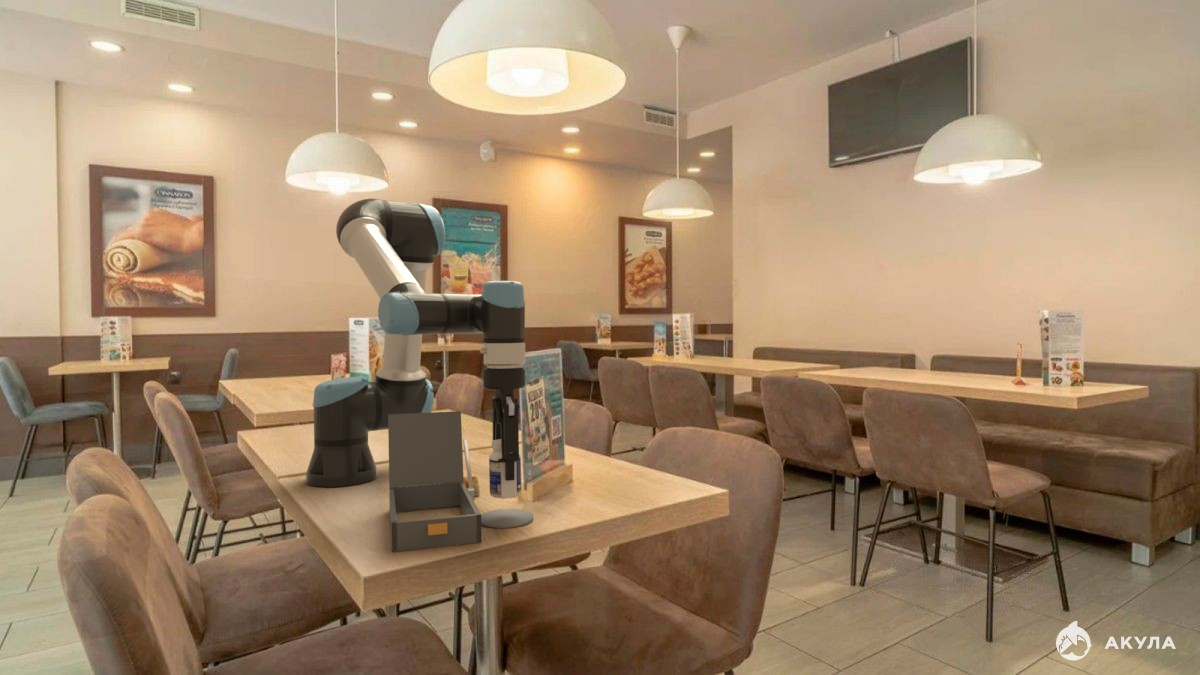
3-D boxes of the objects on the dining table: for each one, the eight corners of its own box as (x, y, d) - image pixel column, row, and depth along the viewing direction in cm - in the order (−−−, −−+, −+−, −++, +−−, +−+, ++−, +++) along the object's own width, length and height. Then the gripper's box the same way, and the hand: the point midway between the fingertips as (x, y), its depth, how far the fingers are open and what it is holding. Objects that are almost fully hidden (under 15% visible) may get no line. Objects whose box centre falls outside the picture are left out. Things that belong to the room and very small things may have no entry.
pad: (474, 515, 124) (474, 511, 124) (526, 509, 127) (526, 506, 127) (482, 530, 114) (482, 527, 114) (538, 524, 118) (538, 521, 118)
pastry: (435, 501, 135) (434, 482, 135) (433, 493, 141) (432, 475, 141) (481, 497, 137) (481, 479, 137) (477, 490, 144) (477, 472, 144)
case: (389, 505, 131) (388, 414, 130) (466, 499, 135) (465, 410, 135) (392, 553, 103) (390, 437, 103) (488, 542, 108) (487, 431, 108)
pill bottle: (506, 489, 125) (505, 436, 124) (527, 494, 121) (527, 439, 121) (482, 495, 120) (482, 440, 120) (504, 500, 117) (503, 444, 116)
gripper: (476, 364, 128) (477, 483, 128) (492, 370, 110) (493, 508, 111) (514, 363, 130) (515, 480, 131) (536, 368, 113) (537, 504, 113)
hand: (505, 493), depth 121 cm, fingers closed on pill bottle, 6 cm apart
